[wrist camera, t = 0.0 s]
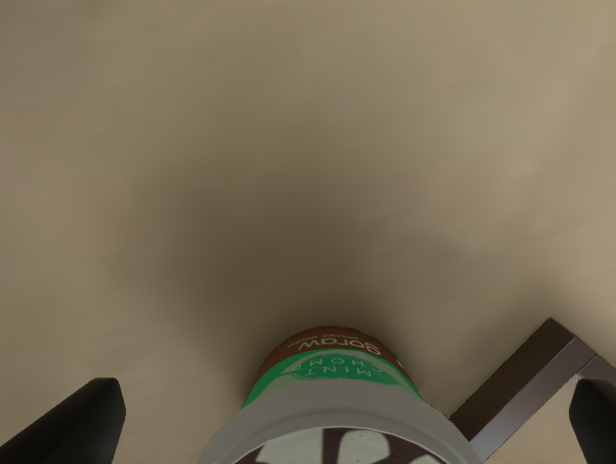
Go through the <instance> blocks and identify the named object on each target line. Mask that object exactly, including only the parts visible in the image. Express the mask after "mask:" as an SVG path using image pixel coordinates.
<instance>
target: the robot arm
mask: <svg viewBox="0 0 616 464" xmlns="http://www.w3.org/2000/svg"><path fill="white" fill-rule="evenodd" d="M125 416H126V408H125V404H124V400H123V396H122V392H121V388H120V385H119V382H118V380H117V379H116V378H95V379H93V380H91V381H90V382H88V383H87V384H86V385H84V386H83V387H81V388H80V389H79V390H77V391H76V392H75V393H73V394H72V395H70V396H69V397H68V398H66V399H65V400H64V401H62V402H61V403H60V404H58V405H57V406H55V407H54V408H53V409H51V410H50V411H49V412H47V413H46V414H44V415H43V416H42V417H40V418H39V419H38V420H36V421H35V422H33V423H32V424H31V425H29V426H28V427H27V428H25V429H24V430H23V431H21V432H20V433H18V434H17V435H16V436H14V437H13V438H12V439H10V440H9V441H7V442H6V443H5V444H3V445H2V446H1V447H0V464H111V463H112V460H113V457H114V454H115V450H116V447H117V444H118V441H119V437H120V434H121V431H122V428H123V424H124V421H125ZM569 418H570V422H571V425H572V427H573V429H574V432H575V434H576V437H577V439H578V442H579V444H580V447H581V449H582V452H583V454H584V457H585V459H586V462H587V464H616V385H614V384H612V383H611V382H609V381H607V380H606V379H603V378H582V379H580V380H579V381H578V383H577V385H576V388H575V391H574V395H573V398H572V401H571V404H570V407H569Z"/></svg>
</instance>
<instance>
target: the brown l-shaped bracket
mask: <svg viewBox="0 0 616 464" xmlns="http://www.w3.org/2000/svg"><path fill="white" fill-rule="evenodd" d="M576 373H577V374H578V375H580V376H581V377H582V378H603V379H606V380H607V381H609V382H611V383H612V384H614V385H616V369H615V368H614V367H613V366H611V365H610V364H609V363H608V362H607V361H605V360H604V359H603V358H602V357H601V356H600V355H598V354H597V353H596V352H595V351H594V350H592V349H591V348H590V347H589V346H588V345H587V344H585V343H584V342H583V341H582V340H581V339H579V338H578V337H577V336H576V335H574V334H573V333H572V332H570V331H569V330H568V329H566V328H565V327H563V326H562V325H561V324H559V323H558V322H556V321H555V320H554V319H552V318H550V319H549V320H548V321H547V322H546V323H545V324H544V325H543V326H542V327H541V328H540V329H539V330H538V331H537V332H536V333H535V334H534V335H533V336H532V337H531V338H530V339H529V340H528V341H527V342H526V343H525V344H524V345H523V346H522V347H521V348H520V349H519V350H518V351H517V352H516V353H515V354H514V355H513V356H512V357H511V358H510V359H509V360H508V361H507V362H506V363H505V364H504V365H503V366H502V367H501V368H500V369H499V370H498V371H497V372H496V373H495V374H494V375H493V376H492V377H491V378H490V379H489V380H488V381H487V382H486V383H485V384H484V385H483V386H482V387H481V388H480V389H479V390H478V391H477V392H476V393H475V394H474V395H473V396H472V397H471V398H470V399H469V400H468V401H467V402H466V403H465V404H464V405H463V406H462V407H461V408H460V409H459V410H458V411H457V412H456V413H455V414H454V415H453V416H452V417H451V418H450V419H449V421H451V422H452V423H453V424H454V425H455V426H456V428H457V429H458V430H459V431H460V432H461V433H462V435H463V436H464V437H465V438H466V439H467V440H468V442H469V443H470V445H471V447H472V448H473V450H474V451H475V453H476V455H477V456H478V458H479V460H480V462H481V464H483V463H484V462H485V461H486V460H487V459H488V458H489V457H490V456H491V455H492V454H493V453H494V452H495V451H496V450H497V449H498V448H499V447H500V446H501V445H502V444H503V443H504V442H505V441H506V440H508V439H509V438H510V437H511V436H512V435H513V434H514V433H515V432H516V431H517V430H518V429H519V428H520V427H521V426H522V425H523V424H524V423H525V422H526V421H527V420H528V419H529V418H530V417H531V416H532V415H533V414H534V413H535V412H536V411H538V410H539V409H540V408H541V407H542V406H543V405H544V404H545V403H546V402H547V401H548V400H549V399H550V398H551V397H552V396H553V395H554V394H555V393H556V392H557V391H558V390H559V389H560V388H561V387H562V386H563V385H564V384H565V383H566V382H567V381H569V380H570V379H571V378H572V377H573V376H574V375H575V374H576Z"/></svg>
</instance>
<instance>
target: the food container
mask: <svg viewBox="0 0 616 464" xmlns="http://www.w3.org/2000/svg"><path fill="white" fill-rule="evenodd" d="M198 464H481V462H480V460H479V458H478V456H477V455H476V453H475V451H474V450H473V448H472V447H471V445H470V443H469V442H468V440H467V439H466V438H465V437H464V436H463V435H462V433H461V432H460V431H459V430H458V429H457V428H456V426H455V425H454V424H453V423H452V422H451V421H449V420H448V419H447V418H446V417H444V416H443V415H442V414H441V413H440V412H438V411H437V410H436V409H435V408H433V407H432V406H430V405H428V404H426V403H425V402H424V401H423V399H422V397H421V396H420V394H419V392H418V391H417V389H416V388H415V386H414V384H413V383H412V381H411V380H410V378H409V376H408V375H407V373H406V372H405V370H404V368H403V367H402V365H401V363H400V362H399V360H398V359H397V357H396V356H395V355H394V354H393V353H392V352H391V351H390V350H389V349H387V348H386V347H385V346H384V345H383V344H382V343H381V342H380V341H378V340H377V339H376V338H373V337H371V336H369V335H367V334H364V333H362V332H360V331H357V330H355V329H352V328H345V327H337V326H324V327H316V328H312V329H307V330H305V331H302V332H299V333H297V334H295V335H293V336H291V337H290V338H288V339H286V340H284V341H283V342H282V343H281V344H280V345H278V346H277V347H276V348H275V349H274V350H273V351H272V352H271V353H270V355H269V356H268V357H267V358H266V360H265V361H264V363H263V365H262V366H261V368H260V370H259V372H258V374H257V376H256V378H255V380H254V383H253V385H252V387H251V389H250V391H249V393H248V395H247V397H246V399H245V402H244V404H243V406H242V408H241V410H240V411H239V412H238V413H236V414H235V415H234V416H232V417H231V418H230V419H229V420H228V421H227V422H226V423H225V424H224V425H223V426H222V427H221V428H220V429H219V431H218V432H217V433H216V434H215V435H214V436H213V437H212V439H211V440H210V442H209V444H208V445H207V447H206V448H205V450H204V451H203V453H202V455H201V457H200V459H199V461H198Z"/></svg>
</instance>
